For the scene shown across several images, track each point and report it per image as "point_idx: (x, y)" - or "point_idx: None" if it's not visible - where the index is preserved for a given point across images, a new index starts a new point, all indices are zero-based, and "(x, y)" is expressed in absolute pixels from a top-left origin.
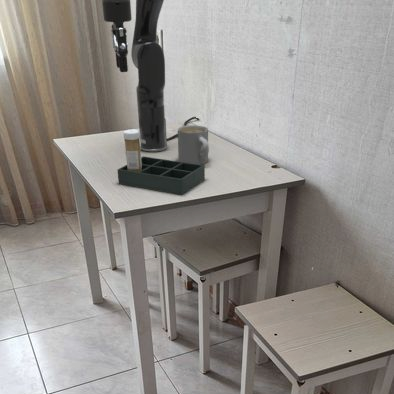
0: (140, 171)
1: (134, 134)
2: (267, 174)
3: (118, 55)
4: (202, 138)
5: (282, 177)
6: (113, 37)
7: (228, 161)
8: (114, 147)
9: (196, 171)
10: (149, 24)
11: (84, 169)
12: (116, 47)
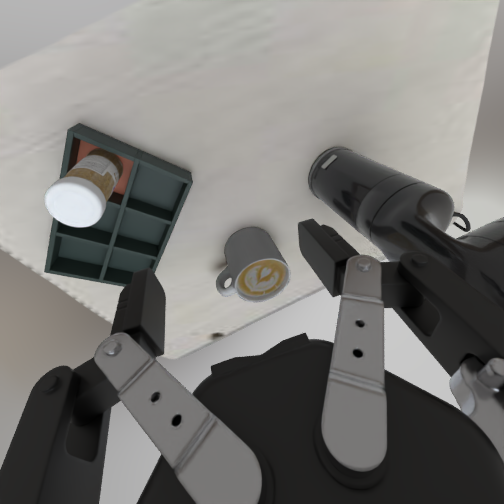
0: None
1: (55, 217)
2: (185, 333)
3: (100, 344)
4: (231, 292)
5: (175, 346)
6: (202, 430)
7: None
8: (369, 76)
9: (112, 283)
10: None
11: None
12: (140, 372)
